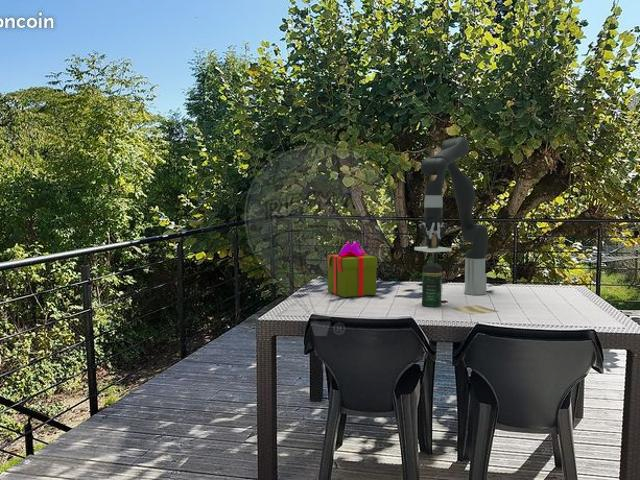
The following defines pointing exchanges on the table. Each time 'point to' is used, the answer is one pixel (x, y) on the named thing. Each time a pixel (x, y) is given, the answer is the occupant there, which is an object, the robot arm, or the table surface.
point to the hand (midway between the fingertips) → (432, 247)
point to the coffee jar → (431, 285)
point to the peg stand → (433, 247)
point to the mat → (474, 309)
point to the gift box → (352, 272)
